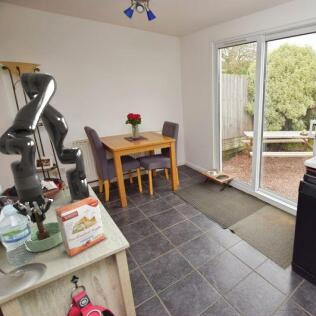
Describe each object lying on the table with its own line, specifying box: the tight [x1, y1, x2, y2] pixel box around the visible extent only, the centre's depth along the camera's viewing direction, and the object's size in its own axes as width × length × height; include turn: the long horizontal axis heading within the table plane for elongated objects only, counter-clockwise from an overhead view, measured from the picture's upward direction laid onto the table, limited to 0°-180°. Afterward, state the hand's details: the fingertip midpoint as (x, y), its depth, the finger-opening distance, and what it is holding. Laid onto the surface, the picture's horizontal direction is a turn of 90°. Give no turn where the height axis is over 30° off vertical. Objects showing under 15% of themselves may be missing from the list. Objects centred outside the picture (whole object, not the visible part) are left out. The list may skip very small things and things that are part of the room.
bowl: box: [25, 221, 63, 253], centre depth 99 cm, size 14×14×6 cm
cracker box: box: [54, 196, 105, 257], centre depth 95 cm, size 14×6×21 cm, turn 148°
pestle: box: [33, 209, 50, 241], centre depth 95 cm, size 4×4×14 cm
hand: (39, 221), depth 95 cm, fingers closed on pestle, 2 cm apart
